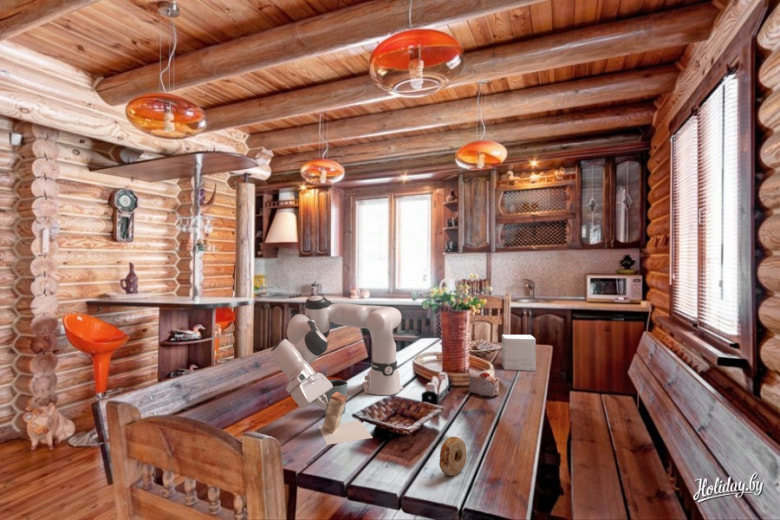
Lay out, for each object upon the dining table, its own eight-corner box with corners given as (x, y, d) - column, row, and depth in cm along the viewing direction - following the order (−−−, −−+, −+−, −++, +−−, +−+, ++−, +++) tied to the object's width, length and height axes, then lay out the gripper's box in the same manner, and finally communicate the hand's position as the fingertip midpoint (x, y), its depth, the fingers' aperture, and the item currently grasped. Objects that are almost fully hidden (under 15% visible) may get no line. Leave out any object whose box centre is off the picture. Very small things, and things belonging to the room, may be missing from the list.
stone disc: (448, 482, 113) (448, 446, 113) (437, 477, 116) (437, 442, 116) (469, 468, 121) (469, 435, 121) (458, 464, 123) (458, 431, 123)
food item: (501, 394, 188) (502, 373, 188) (494, 399, 181) (494, 377, 181) (474, 389, 196) (474, 368, 196) (467, 393, 190) (467, 372, 190)
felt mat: (318, 427, 150) (318, 426, 150) (360, 421, 156) (360, 420, 156) (326, 445, 135) (326, 444, 135) (372, 438, 141) (372, 437, 141)
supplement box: (531, 365, 241) (531, 334, 241) (536, 371, 228) (536, 338, 228) (501, 364, 243) (501, 333, 244) (504, 370, 230) (504, 338, 230)
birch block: (322, 427, 145) (331, 395, 144) (327, 423, 150) (336, 391, 149) (333, 433, 144) (342, 400, 143) (338, 428, 149) (347, 396, 148)
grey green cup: (319, 417, 160) (319, 386, 160) (324, 407, 170) (324, 379, 170) (345, 417, 160) (345, 386, 160) (348, 408, 170) (348, 379, 170)
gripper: (311, 375, 159) (333, 403, 157) (283, 391, 140) (308, 423, 137) (321, 365, 158) (344, 393, 155) (294, 379, 139) (320, 412, 136)
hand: (327, 407), depth 146 cm, fingers closed
